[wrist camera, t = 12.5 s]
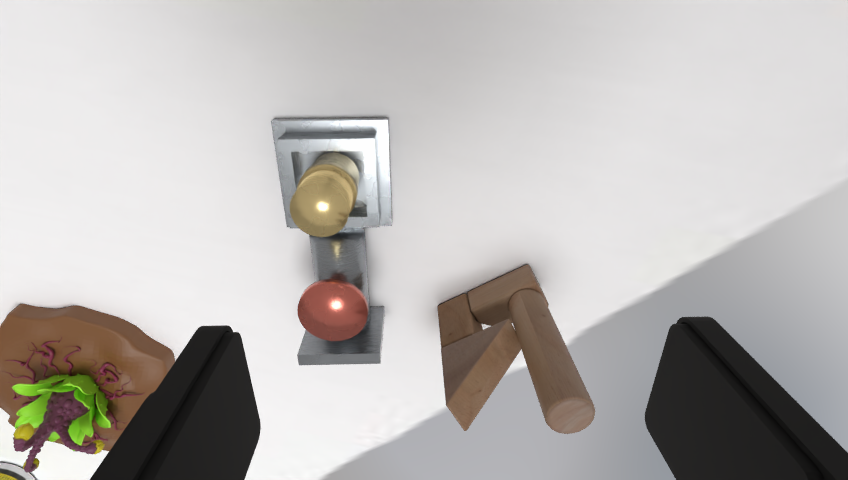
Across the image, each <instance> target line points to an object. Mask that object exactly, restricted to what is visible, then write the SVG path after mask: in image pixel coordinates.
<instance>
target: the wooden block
mask: <svg viewBox="0 0 848 480" xmlns="http://www.w3.org/2000/svg"><path fill="white" fill-rule="evenodd" d="M438 317H439V328H440V338H441V354H442V365H443V376H444V387H445V398H446V406H447V407H448V408H449V410H450V411H451V412H452V414H453V415H454V417H455V418H456V420H457V421H458V422H459V424H460V425H461V427H462V428H463V429H464V431H466V430H467V429H468V428H469V426H470V425H471V423H472V422H473V420H474V419H475V417H476V416H477V414H478V413H479V411H480V409H481V408H482V407H483V405H484V404H485V402H486V401H487V399H488V398H489V396H490V395H491V393H492V392H493V390H494V389H495V387H496V386H497V384H498V383H499V381H500V380H501V378H502V377H503V376H504V374H505V373H506V371H507V370H508V368H509V367H510V365H511V364H512V362H513V361H514V359H515V358H516V356H517V355H518V353H519V352H520V350H521V349H522V352H523V355H524V358H525V361H526V364H527V367H528V370H529V373H530V375H531V378H532V381H533V384H534V387H535V390H536V394H537V396H538V399H539V402H540V406H541V408H542V412H543V414H544V418H545V421H546V423H547V424H548V426H550V428H551V429H552V430H554V431H556V432H559V433H564V434H569V433H575V432H579V431H581V430H583V429H585V428H586V427H587V426H589V425H590V424H591V422H592V421H593V419H594V415H595V409H594V405H593V402H592V400H591V398H590V396H589V394H588V392H587V390H586V388H585V385H584V383H583V381H582V379H581V377H580V375H579V373H578V370H577V368H576V366H575V364H574V362H573V360H572V358H571V356H570V354H569V352H568V349H567V347H566V345H565V343H564V341H563V339H562V336H561V334H560V332H559V330H558V328H557V326H556V324H555V322H554V319H553V317H552V315H551V313H550V311H549V309H548V302H547V300H546V298H545V295H544V293H543V291H542V289H541V287H540V285H539V283H538V281H537V279H536V277H535V275H534V273H533V271H532V269H531V267H530V266H529V265H525V266H523V267H520V268H518V269H516V270H514V271H512V272H510V273H507V274H505V275H503V276H501V277H499V278H497V279H495V280H492V281H490V282H488V283H486V284H484V285H482V286H479V287H477V288H475V289H473V290H471V291H469V292H468V293H467V294H462V295H460V296H457V297H455V298H453V299H451V300H449V301H447V302H444V303H442V304H440V305H439V306H438ZM481 323H482V324H486V325H491V327H489V328H486V329H484V330H483V329H482V324H481ZM511 323H513V325H514V327H513V326H512V324H511ZM514 328H515V329H514Z"/></svg>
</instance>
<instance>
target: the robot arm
mask: <svg viewBox="0 0 848 480" xmlns="http://www.w3.org/2000/svg"><path fill="white" fill-rule="evenodd" d="M645 422H646V426H647V429H648V431H649V433H650V435H651V436H652V438H653V440H654V442H655V443H656V445H657V447H658V449H659V450H660V452H661V454H662V455H663V457H664V459H665V461H666V462H667V464H668V466H669V468H670V470H671V471H672V473H673V475H674V477H675V478H676V480H848V453H847V452H846V451H845V450H844V449H843V448H842V447H841V446H840V445H839V444H838V443H837V442H836V441H835V440H834V439H833V438H832V437H831V436H830V435H829V434H828V433H827V432H826V431H825V430H824V429H823V428H822V427H821V426H820V425H819V424H818V423H817V422H816V421H815V420H814V419H813V418H812V417H811V416H810V415H809V414H808V413H807V412H806V411H805V410H804V409H803V408H802V407H801V406H800V405H799V404H798V403H797V402H796V401H795V400H794V399H793V398H792V397H791V396H790V395H789V394H788V393H787V392H786V391H785V390H784V389H783V388H782V387H781V386H780V385H779V384H778V383H777V382H776V381H775V380H774V379H773V378H772V377H771V376H770V375H769V374H768V373H767V372H766V371H765V370H764V369H763V368H762V367H761V366H760V365H759V364H758V363H757V362H756V361H755V360H754V359H753V358H752V357H751V356H750V355H749V354H748V353H747V352H746V351H745V350H744V349H743V348H742V347H741V346H740V345H739V344H738V343H737V342H736V341H735V340H734V339H733V338H732V337H731V336H730V335H729V334H728V333H727V332H726V331H725V330H724V329H723V328H722V327H721V326H720V325H719V324H718V323H717V322H716V321H715V320H714V319H713V318H711V317H682V318H680V319H679V320H678V321H677V323H676V324H673V325H672V326H671V327H670V329H669V332H668V335H667V339H666V342H665V346H664V350H663V353H662V356H661V360H660V363H659V367H658V370H657V373H656V377H655V381H654V384H653V387H652V391H651V394H650V398H649V401H648V405H647V408H646V412H645ZM259 436H260V419H259V414H258V410H257V405H256V401H255V397H254V392H253V388H252V383H251V379H250V374H249V370H248V365H247V361H246V357H245V352H244V348H243V343H242V339H241V336H240V334H239V333H238V332H233V331H232V329H231V327H230V326H201V327H199V328H198V329H197V330H196V332H195V333H194V335H193V336H192V338H191V339H190V341H189V342H188V344H187V345H186V347H185V348H184V350H183V351H182V353H181V354H180V355H179V357H178V358H177V360H176V361H175V363H174V364H173V366H172V367H171V369H170V370H169V372H168V373H167V375H166V376H165V378H164V379H163V380H162V382H161V383H160V385H159V386H158V388H157V389H156V391H154V392H153V393H151V394H150V395H149V396H148V397H147V398H146V399H145V401H144V402H143V404H142V405H141V406H140V408H139V409H138V411H137V412H136V414H135V415H134V417H133V418H132V419H131V421H130V422H129V424H128V425H127V427H126V428H125V430H124V431H123V432H122V434H121V435H120V437H119V438H118V440H117V441H116V443H115V444H114V445H113V447H112V448H111V450H110V451H109V453H108V454H107V456H106V457H105V458H104V460H103V461H102V463H101V464H100V466H99V467H98V469H97V470H96V472H95V473H94V474H93V476H92V477H91V479H90V480H244V479H245V476H246V473H247V471H248V468H249V465H250V462H251V459H252V457H253V454H254V451H255V448H256V446H257V443H258V440H259Z"/></svg>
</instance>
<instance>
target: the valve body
mask: <svg viewBox="0 0 848 480" xmlns="http://www.w3.org/2000/svg"><path fill="white" fill-rule="evenodd" d="M271 124H272V130H273V137H274V144H275V151H276V157H277V164H278V171H279V177H280V184H281V191H282V197H283V204H284V211H285V217H286V224H287V227H290V228H299V227H298V226H297V225H296V224H295V223H294V221H293V219H292V217H291V214H290V201H291V199H292V196H293V195H294V193H295V192H296V190H297V185H298V183H299V181H300V179H301V177H302V176H303V174H304V173H305V171H306V170H307V169H308V168H309V167H310V166H312V165H313V163H314V162H315V161H316V159H317V158H319V157H320V156H322V155H324V154H326V153H340V154H343V155H345V156H347V157H349V158H350V159H351V160H352V161H353V162H354V163H355V165H356V166H357V169H358V171H359V184H358V195H357V198H356V202H355V205H354V208H353V209H352V211H351V212H350V213H349V216H348V220H347V222H346V224H345V226H344V227H343V228H342V229H341V230H340V231H339V232H338V233H336V234H334V235H331V236H327V237H316V236H312V235H310V243H311V251H312V259H313V267H314V274H315V283H313V284H312V285H310V286H309V287H308V288H307V289H306V290H305V291H304V292H303V294H302V296H301V299H300V301H299V304H298V317H299V320H300V322H301V324H302V325H303V327H304V328H305V329H306V331H305V334H304V337H303V340H302V343H301V346H300V349H299V352H298V355H297V356H298V362H299V365H330V364H379V363H381V351H382V340H383V328H384V317H385V314H384V307H369V294H368V279H367V264H366V249H365V235H364V229H363V228H362V227H379V226H392V206H391V180H390V153H389V127H388V118H303V119H273V120H272V121H271Z"/></svg>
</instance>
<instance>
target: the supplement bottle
mask: <svg viewBox="0 0 848 480" xmlns="http://www.w3.org/2000/svg"><path fill="white" fill-rule="evenodd" d="M0 480H35V478H34V477H33V476H32V475H31V474H30V473H29V472H28V473H26V472H25V471H24V469H22V468H20V467H18V466H15V465H12V464H7V463H0Z"/></svg>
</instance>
